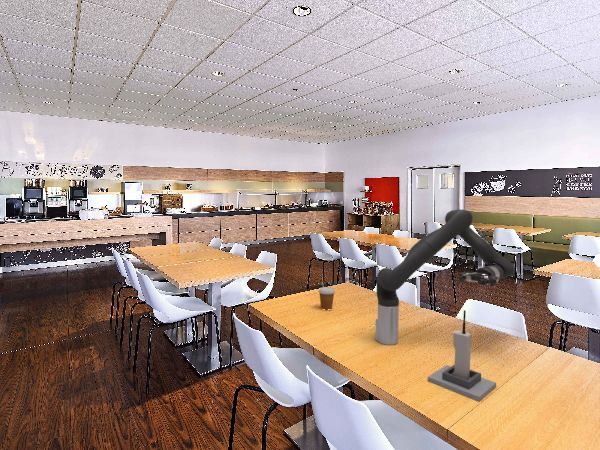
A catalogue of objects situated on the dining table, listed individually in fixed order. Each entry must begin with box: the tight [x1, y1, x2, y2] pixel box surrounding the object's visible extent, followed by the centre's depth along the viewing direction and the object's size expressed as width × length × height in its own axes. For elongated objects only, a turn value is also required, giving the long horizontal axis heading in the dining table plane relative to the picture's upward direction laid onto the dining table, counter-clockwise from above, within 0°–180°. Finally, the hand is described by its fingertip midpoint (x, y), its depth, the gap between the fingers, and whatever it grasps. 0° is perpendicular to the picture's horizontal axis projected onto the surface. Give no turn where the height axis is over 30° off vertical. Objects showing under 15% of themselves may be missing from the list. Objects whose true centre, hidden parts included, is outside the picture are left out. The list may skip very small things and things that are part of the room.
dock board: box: [427, 363, 497, 402], centre depth 131 cm, size 18×14×4 cm
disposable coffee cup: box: [318, 286, 336, 311], centre depth 217 cm, size 10×10×12 cm
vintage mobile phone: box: [452, 310, 472, 380], centre depth 131 cm, size 4×5×25 cm
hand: (470, 280), depth 150 cm, fingers open, 8 cm apart
